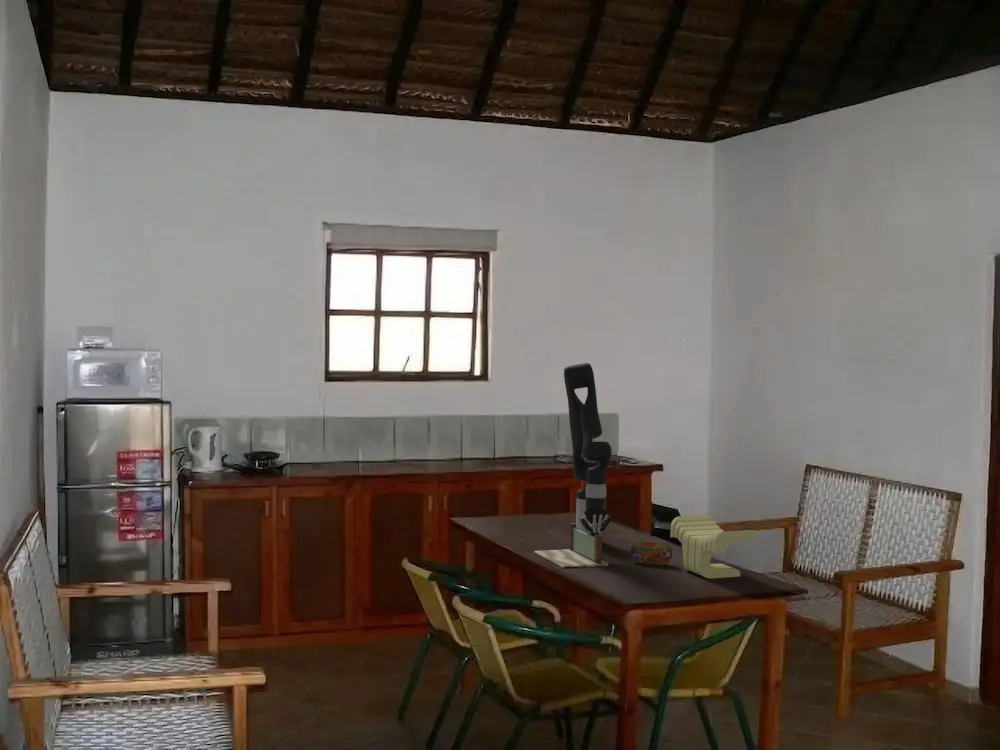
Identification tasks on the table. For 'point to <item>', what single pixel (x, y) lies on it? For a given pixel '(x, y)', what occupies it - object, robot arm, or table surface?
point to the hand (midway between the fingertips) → (594, 542)
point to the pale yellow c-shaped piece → (706, 544)
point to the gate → (583, 543)
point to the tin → (651, 552)
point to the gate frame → (574, 554)
